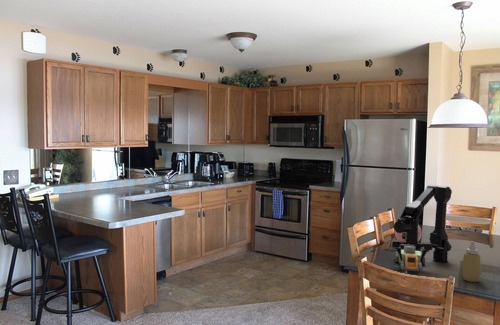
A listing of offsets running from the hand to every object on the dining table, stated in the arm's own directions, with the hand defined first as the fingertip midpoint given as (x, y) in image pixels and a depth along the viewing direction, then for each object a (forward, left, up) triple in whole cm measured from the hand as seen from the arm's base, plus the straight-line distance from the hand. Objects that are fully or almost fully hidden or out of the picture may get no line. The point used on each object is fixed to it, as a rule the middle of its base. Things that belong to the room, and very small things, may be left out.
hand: (411, 261), depth 213 cm
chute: (0, 0, -2) cm, 2 cm away
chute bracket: (0, 0, -3) cm, 3 cm away
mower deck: (0, -10, -3) cm, 10 cm away
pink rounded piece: (-1, -46, -3) cm, 46 cm away
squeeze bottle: (-25, +12, -3) cm, 28 cm away
